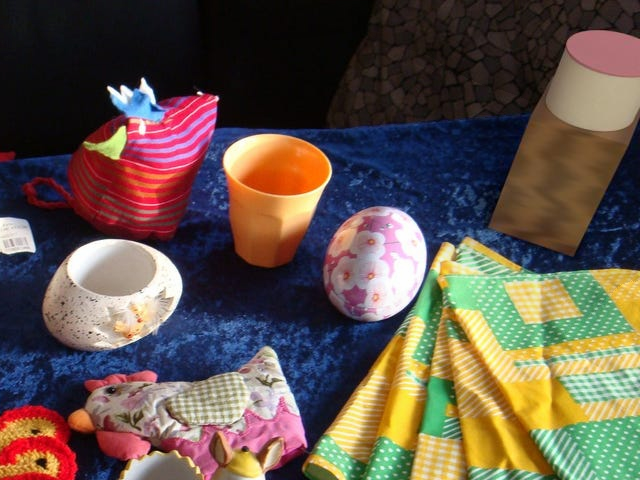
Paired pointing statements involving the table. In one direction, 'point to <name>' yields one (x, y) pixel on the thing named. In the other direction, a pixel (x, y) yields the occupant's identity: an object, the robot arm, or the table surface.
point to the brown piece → (558, 180)
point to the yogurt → (597, 81)
